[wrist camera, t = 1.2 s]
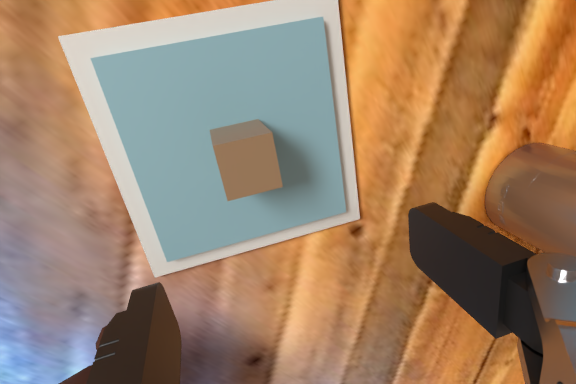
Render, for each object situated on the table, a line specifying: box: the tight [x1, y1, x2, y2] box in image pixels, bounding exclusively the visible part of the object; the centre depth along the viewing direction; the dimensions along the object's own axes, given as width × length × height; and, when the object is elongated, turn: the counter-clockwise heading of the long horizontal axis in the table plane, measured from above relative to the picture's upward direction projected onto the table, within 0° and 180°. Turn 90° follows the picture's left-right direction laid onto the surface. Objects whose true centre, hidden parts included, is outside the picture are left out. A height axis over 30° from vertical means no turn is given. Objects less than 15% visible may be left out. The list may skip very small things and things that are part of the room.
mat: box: [58, 0, 360, 277], centre depth 26 cm, size 18×18×1 cm
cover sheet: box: [90, 16, 346, 262], centre depth 23 cm, size 15×15×6 cm
